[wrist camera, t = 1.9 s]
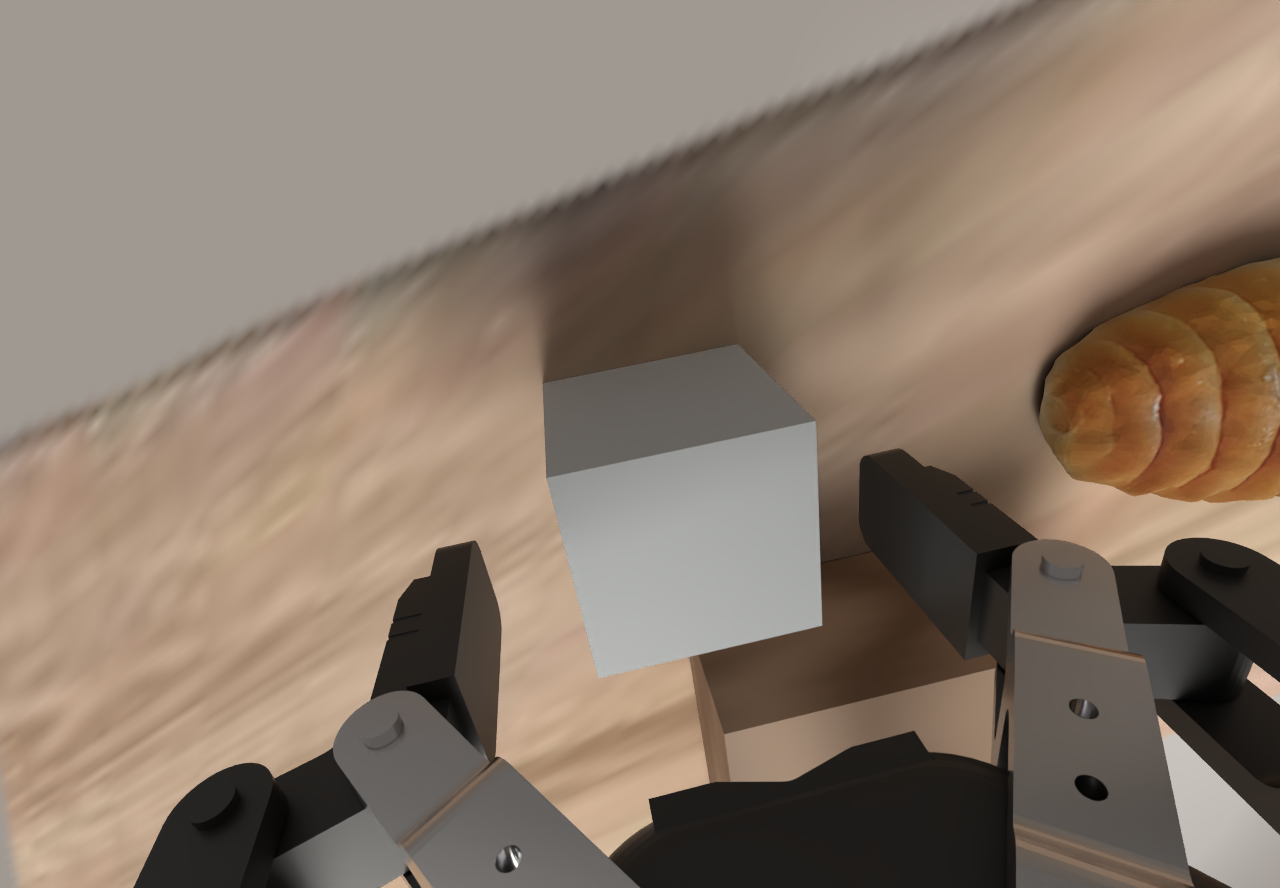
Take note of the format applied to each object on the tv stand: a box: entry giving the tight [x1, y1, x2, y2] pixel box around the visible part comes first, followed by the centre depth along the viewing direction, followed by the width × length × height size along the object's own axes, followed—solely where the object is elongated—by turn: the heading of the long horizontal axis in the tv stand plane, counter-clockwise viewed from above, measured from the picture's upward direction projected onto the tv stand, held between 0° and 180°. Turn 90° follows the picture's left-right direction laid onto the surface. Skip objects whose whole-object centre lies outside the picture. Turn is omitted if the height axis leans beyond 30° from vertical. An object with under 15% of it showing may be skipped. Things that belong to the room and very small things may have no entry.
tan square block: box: [690, 552, 997, 783], centre depth 19 cm, size 10×10×5 cm
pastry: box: [1039, 258, 1280, 503], centre depth 17 cm, size 9×7×4 cm
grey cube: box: [543, 344, 822, 678], centre depth 15 cm, size 5×5×5 cm
